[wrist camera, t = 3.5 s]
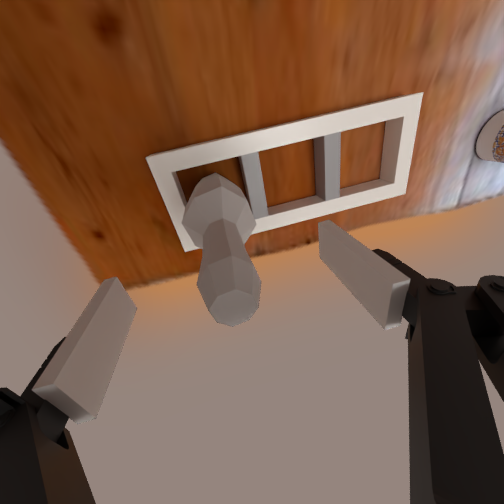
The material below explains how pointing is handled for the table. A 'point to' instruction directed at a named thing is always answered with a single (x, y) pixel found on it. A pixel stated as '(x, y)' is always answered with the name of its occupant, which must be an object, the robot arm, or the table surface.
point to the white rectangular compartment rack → (325, 154)
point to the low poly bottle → (223, 249)
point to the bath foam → (492, 139)
